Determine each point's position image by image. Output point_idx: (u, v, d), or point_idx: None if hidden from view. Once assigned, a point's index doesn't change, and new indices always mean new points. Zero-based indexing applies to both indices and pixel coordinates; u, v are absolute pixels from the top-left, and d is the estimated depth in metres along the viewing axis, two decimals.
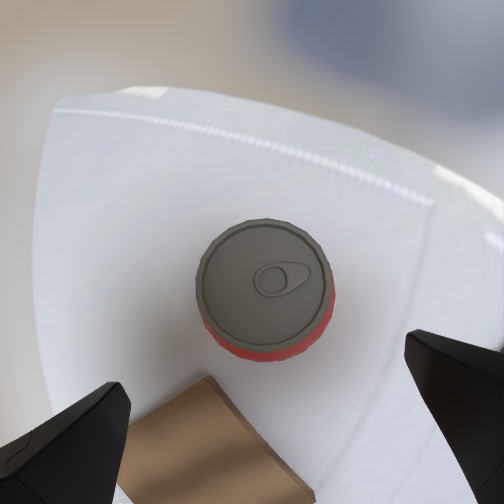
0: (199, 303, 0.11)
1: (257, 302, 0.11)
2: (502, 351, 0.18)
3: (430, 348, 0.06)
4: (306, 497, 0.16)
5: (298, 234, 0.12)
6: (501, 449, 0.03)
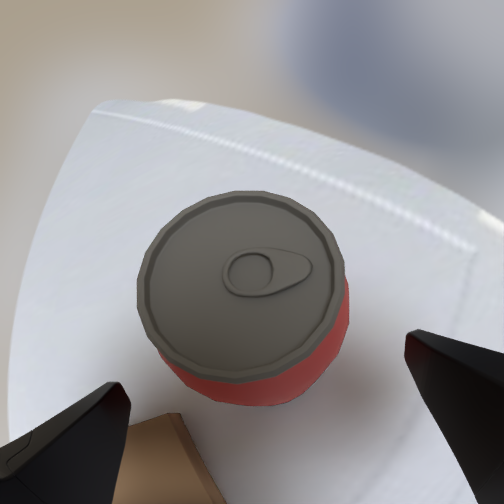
0: (138, 286, 0.07)
1: (220, 301, 0.07)
2: None
3: (430, 348, 0.06)
4: None
5: (302, 215, 0.08)
6: (501, 450, 0.03)
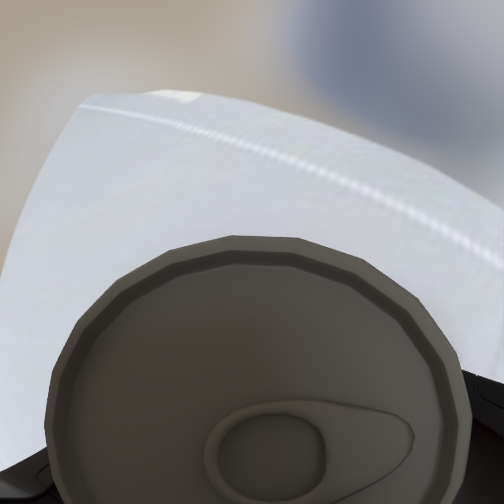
0: (47, 440, 0.02)
1: None
2: None
3: None
4: None
5: (394, 307, 0.03)
6: None
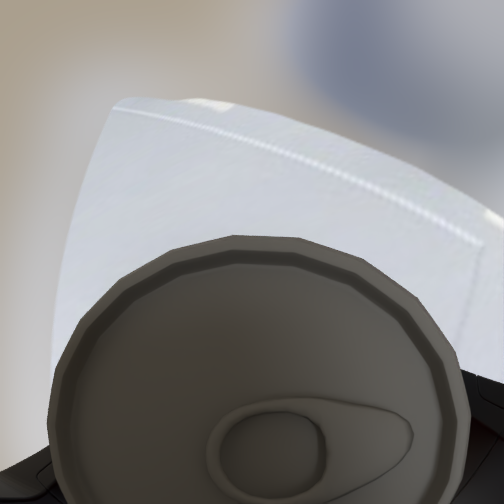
0: (49, 438, 0.03)
1: (207, 502, 0.02)
2: None
3: None
4: None
5: (394, 306, 0.03)
6: None
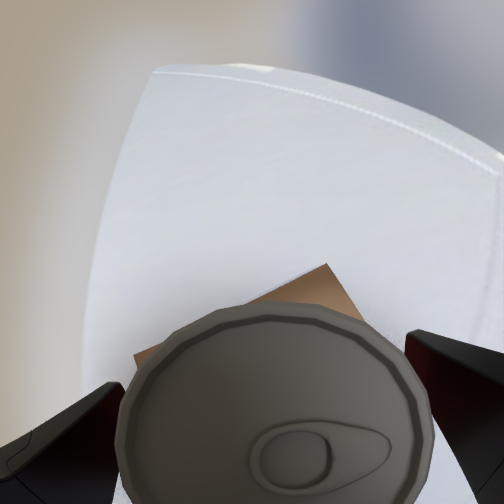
0: (118, 457, 0.04)
1: (247, 494, 0.03)
2: None
3: (430, 348, 0.06)
4: None
5: (385, 359, 0.04)
6: (501, 450, 0.03)
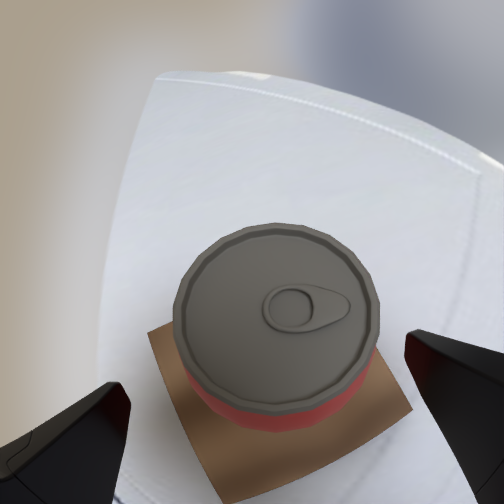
0: (174, 314, 0.07)
1: (260, 335, 0.07)
2: None
3: (430, 348, 0.06)
4: (404, 401, 0.15)
5: (341, 253, 0.08)
6: (500, 450, 0.03)
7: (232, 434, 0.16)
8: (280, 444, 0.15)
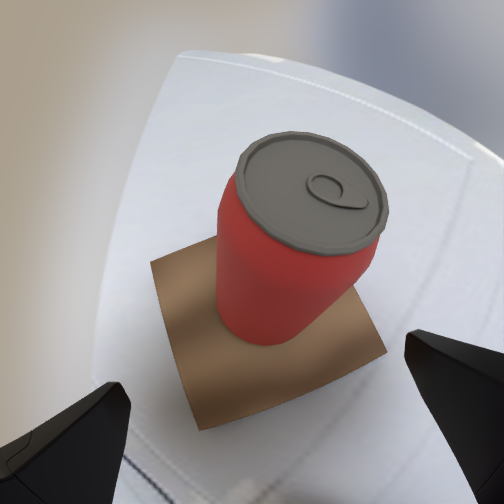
0: (241, 159, 0.09)
1: (299, 195, 0.09)
2: None
3: (430, 348, 0.06)
4: (379, 342, 0.18)
5: (370, 173, 0.10)
6: (501, 450, 0.03)
7: (215, 355, 0.19)
8: (258, 369, 0.18)
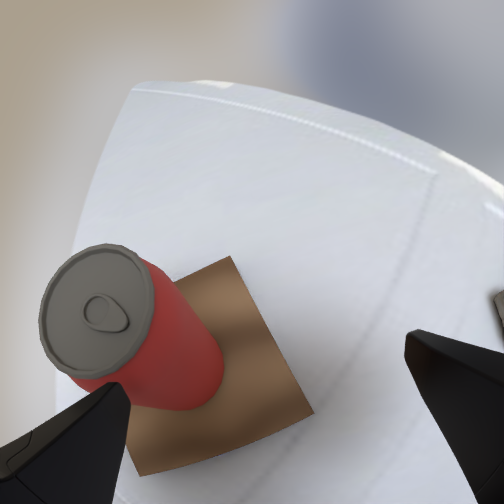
0: (46, 288, 0.10)
1: (76, 319, 0.09)
2: None
3: (430, 348, 0.06)
4: (304, 403, 0.17)
5: (144, 285, 0.10)
6: (500, 450, 0.03)
7: (146, 412, 0.18)
8: (184, 427, 0.17)
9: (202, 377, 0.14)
